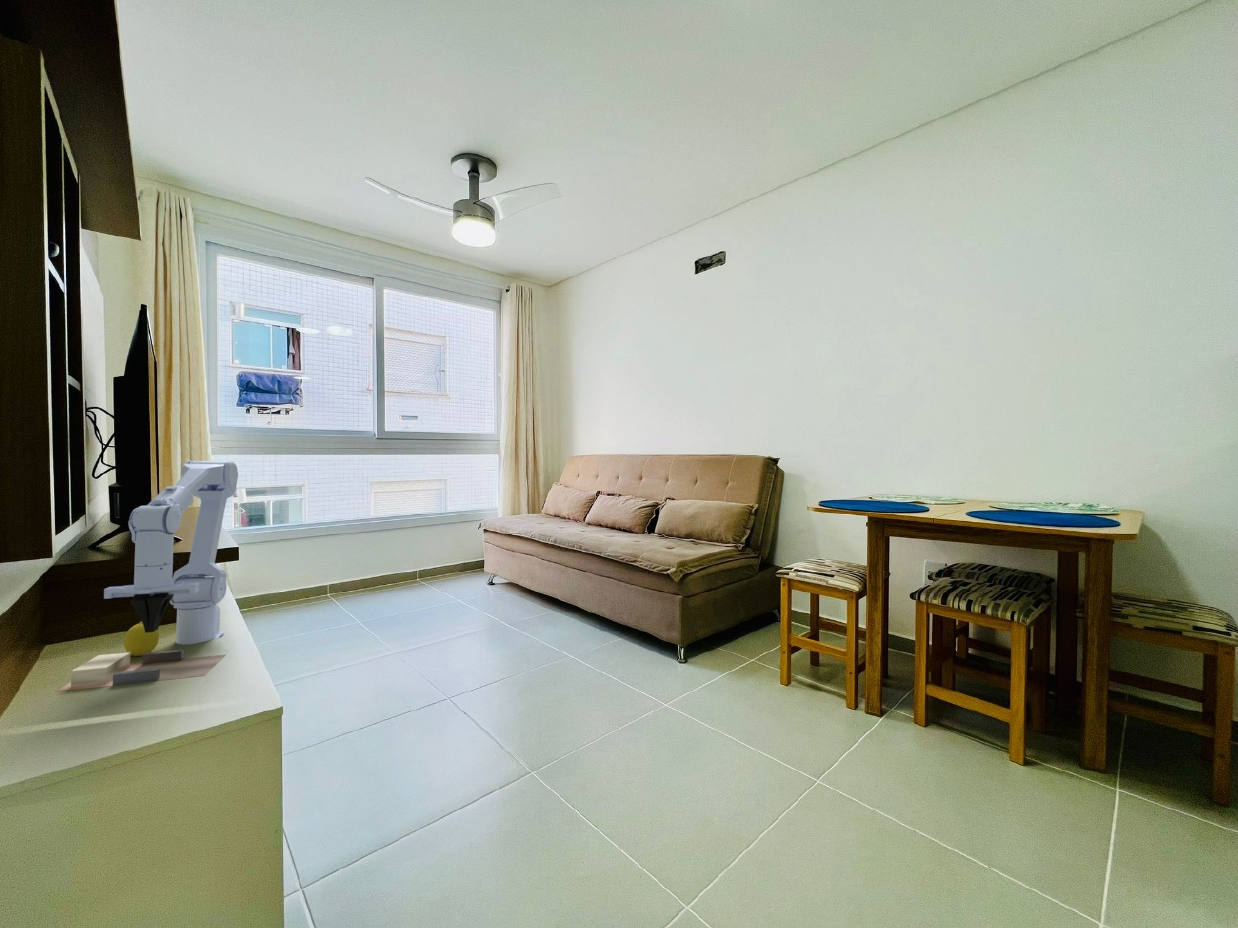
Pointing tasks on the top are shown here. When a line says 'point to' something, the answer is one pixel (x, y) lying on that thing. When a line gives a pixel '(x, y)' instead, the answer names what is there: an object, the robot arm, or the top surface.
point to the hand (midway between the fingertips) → (151, 630)
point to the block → (100, 669)
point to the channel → (148, 674)
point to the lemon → (140, 640)
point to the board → (166, 670)
